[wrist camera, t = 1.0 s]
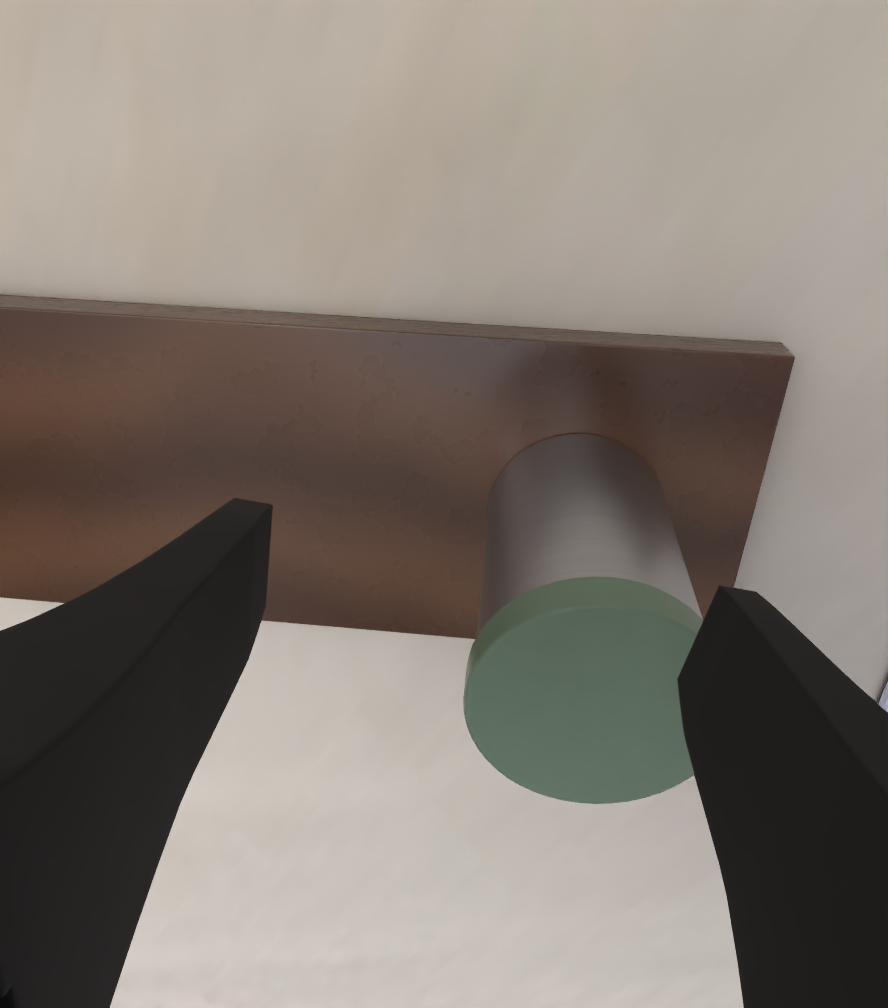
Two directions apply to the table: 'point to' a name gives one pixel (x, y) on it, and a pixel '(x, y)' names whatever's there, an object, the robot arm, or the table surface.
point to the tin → (581, 626)
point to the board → (349, 445)
